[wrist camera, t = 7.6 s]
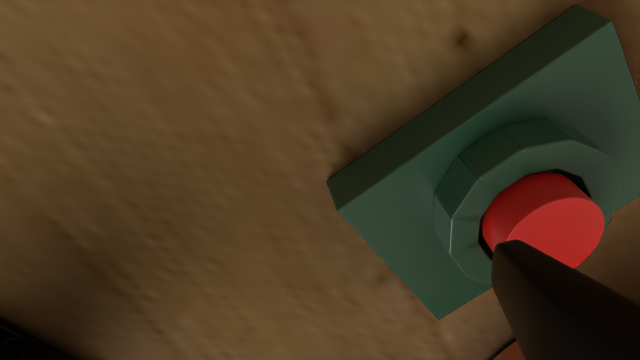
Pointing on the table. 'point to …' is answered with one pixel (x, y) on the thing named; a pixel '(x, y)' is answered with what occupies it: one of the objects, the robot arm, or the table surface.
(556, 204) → the button
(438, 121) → the button box
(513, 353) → the potted plant
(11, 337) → the robot arm
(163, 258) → the table surface
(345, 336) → the table surface
